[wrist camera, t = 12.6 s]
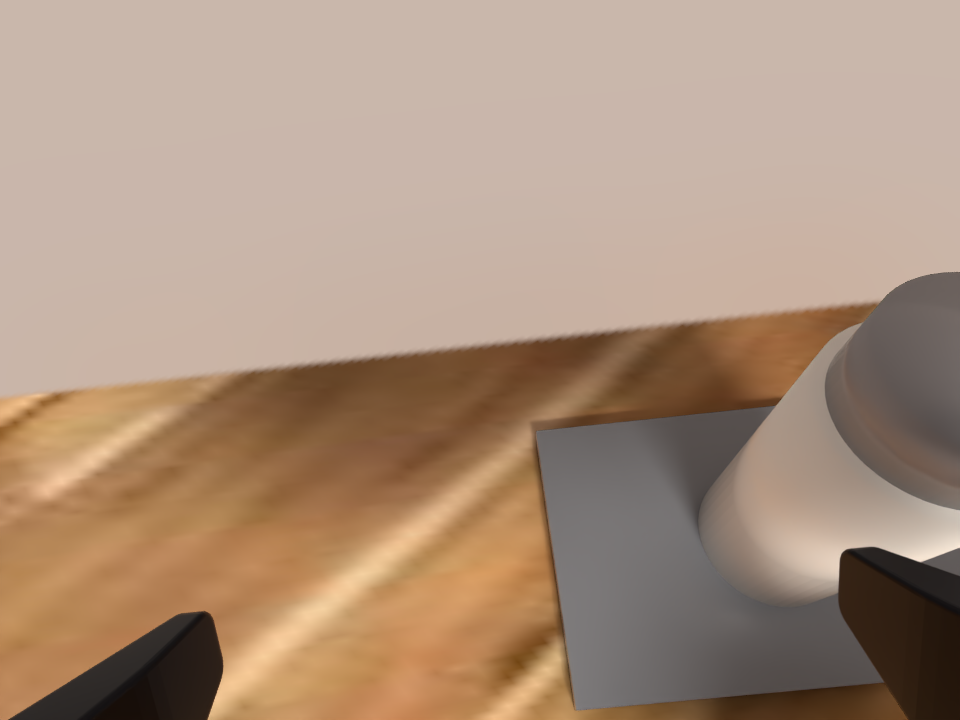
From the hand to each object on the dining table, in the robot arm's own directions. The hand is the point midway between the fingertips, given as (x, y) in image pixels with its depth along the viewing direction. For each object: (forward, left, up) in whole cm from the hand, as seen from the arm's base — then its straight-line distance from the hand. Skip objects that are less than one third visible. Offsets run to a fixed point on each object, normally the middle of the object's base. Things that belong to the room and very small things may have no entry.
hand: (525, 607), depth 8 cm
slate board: (-5, -9, -14) cm, 17 cm away
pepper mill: (-5, -8, -13) cm, 16 cm away
